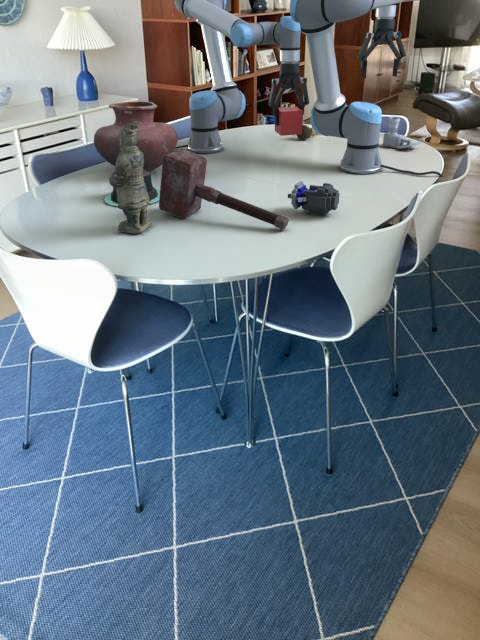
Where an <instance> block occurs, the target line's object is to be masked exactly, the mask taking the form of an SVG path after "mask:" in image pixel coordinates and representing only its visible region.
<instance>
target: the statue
mask: <svg viewBox="0 0 480 640" xmlns="http://www.w3.org/2000/svg"><path fill="white" fill-rule="evenodd" d="M138 127H139V123H138V122H137V121H133V122H131V123H128V124H127V125H126V126H125V127H124V128H123V129H121V130H120V133H119V138H118V140H119V147H120V151H119V154H118V156H117V160H116V164H115V166H114V169H113V172H114V175H113V176H112V175H111V176H110V177H109V180H108V183H109V184H110V186H111V187H112V188H113V187H114V188H115V189H116V192H117V202H118V206H117V209H119V210H122V213H123V214H124V215H125V218H126V219H125V220H122V221H120V222H119V224H118V225H117V231H118V232H121V233H126V234H134V235H136V234H142V233H143V232H145V231H146V230H147V229H148V228H150V227H151V226H152V225H153V223H152V220H150V219H148V216H147V214H148V213H147V212H148V211H147V209H148V206H149V205H150V197H149V195H148V192H147V188H146V184H145V182H144V178H143V166H144V156H143V153H142V151H141V150H139V149H138V147H137V146H136V143H137V138H136V131H137V130H138Z"/></svg>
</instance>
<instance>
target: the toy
mask: <svg viewBox="0 0 480 640" xmlns="http://www.w3.org/2000/svg"><path fill="white" fill-rule="evenodd" d="M293 187H294V188H293V189H292V191H291V193H288V194H287V199H291V200H290V201H291V202H290V203H291V206H292V207H293V210H298V209H299V208H301V210H303V211H306V212H307V214H310V215H311V214H312V215H318V216H326V215H328V213H330V212H331V211H336V210H337V209H338V205H339V204H340V194H341V193H340V190H338V189H337V188H335V187H334V184H332V183H328V182H324V183H322V185H315V184H310V185H309V186H308V187H309V188H308V187H307V185H306V184H305V183H304V181H301V180H299V181H298V182H296V183H295V184H294V186H293Z"/></svg>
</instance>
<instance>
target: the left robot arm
mask: <svg viewBox="0 0 480 640" xmlns="http://www.w3.org/2000/svg"><path fill="white" fill-rule="evenodd" d="M173 1H174V5H175V8H176V10H177V11H178V12H179V13H180V15H183V16H184V17H186V18H188V19H190V20H193V19H195V22H196V23H197V24H198V25H200V27H201V28H200V29H201V33H202V38H203V42H204V47H205V52H206V57H207V62H208V67H209V72H210V77H211V81H212V87H211V89H210V90H202V91H197V92H195V93H192V94H191V95H190V97H189V101H188V102H189V105H188V108H189V118H190V134H189V135H190V136H189V139H188V144H184V145H178V146H177V145H176V147H175V149H174V150H179V149H184V148H187V151H190V152H192V153H195V154H214V153H218V152H221V151H223V150H224V142H223V140H222V138H221V135H220V133H219V123H221V122H225V121H233V120H235V119H239V118H240V117H241V116H243V114H244V111H245V109H246V103H247V101H246V97H245V94H244V93H243V92H242V91H241V90H240V89H238V84H237V83H235V82H234V81H233V76H232V71H231V66H230V62H229V56H228V51H227V45H226V41H225V36H226V37H228V38H229V39H230V42H231V43H232V45H233V46H235V47H237V48H248V47H255V46H265V45H279V62H280V64H279V76H278V78H272V79H271V88H270V93H269V98H268V102H267V103H268V106H269V107H270V108H272V116H273V117H274V126H275V125H277V126H279V108H280V107H278V106H279V105H280V102H281V100H282V98H283V95H284V93H285V91H286V90H289V89H291V90H293V92H294V94H295V96H296V98H297V100H298V103H299V105H298V106H297V108H299V109H301V110H303V116H305V107H306V106H307V105H309V104H310V98H309V92H308V86H307V83H308V78H307V77H305V76H303V77H301V76H300V68H301V67H300V61H301V35H302V34H301V33H302V32H301V28H300V23H297V22H295V21H294V20H293V19H292V18H291V15H285V16H283V15H282V16H281V17H280V18H279V19H280V21H279V22H278V21H261V22H260V21H259V22H248V21H246V20H244V19H242V18H240V17H238V16H236V15H235V14H233V13H231V12H229V11H227V10H226V5H227V0H173ZM299 82H300V83H301V90H302V93H301V92H300V89H299V86H298V85H299ZM279 84H280V86H279V90H278V92H277V87H278V85H279ZM276 92H277V94H276ZM275 96H276V97H275Z"/></svg>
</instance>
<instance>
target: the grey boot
mask: <svg viewBox="0 0 480 640" xmlns="http://www.w3.org/2000/svg"><path fill="white" fill-rule="evenodd" d="M400 121H401V118H400V117H398V116H391V117H389V120H388V132H385V133H384V134H383V138H382V146H383V147H385V148H386V147H387V148H393V149H396V150H402V149H410V148H411V149H412V148H413V147H416V146H418V145H422V142H420V141H419V142H413V139H411V138H407V137H406V136H405V135H404V134H399V133H398V132H399V131H398V130H399V125H400Z"/></svg>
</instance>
